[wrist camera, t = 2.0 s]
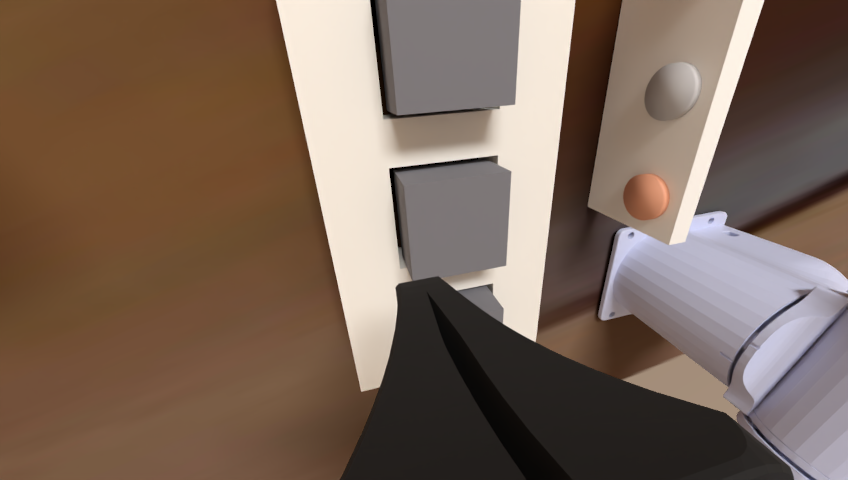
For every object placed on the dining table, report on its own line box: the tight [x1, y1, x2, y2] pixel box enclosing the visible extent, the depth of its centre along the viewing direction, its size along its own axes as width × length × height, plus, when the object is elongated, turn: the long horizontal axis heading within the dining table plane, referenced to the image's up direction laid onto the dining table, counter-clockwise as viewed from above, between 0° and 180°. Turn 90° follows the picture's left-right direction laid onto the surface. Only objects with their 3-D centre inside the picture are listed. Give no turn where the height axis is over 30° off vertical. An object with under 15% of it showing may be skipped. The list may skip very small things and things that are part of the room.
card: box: [588, 0, 764, 245], centre depth 16 cm, size 1×14×6 cm, turn 4°
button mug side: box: [375, 0, 521, 115], centre depth 13 cm, size 5×5×3 cm
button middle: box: [393, 159, 511, 281], centre depth 16 cm, size 5×5×3 cm
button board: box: [276, 0, 575, 392], centre depth 18 cm, size 12×22×2 cm, turn 4°
